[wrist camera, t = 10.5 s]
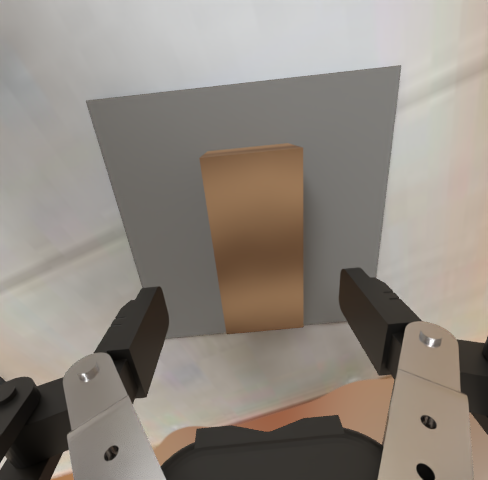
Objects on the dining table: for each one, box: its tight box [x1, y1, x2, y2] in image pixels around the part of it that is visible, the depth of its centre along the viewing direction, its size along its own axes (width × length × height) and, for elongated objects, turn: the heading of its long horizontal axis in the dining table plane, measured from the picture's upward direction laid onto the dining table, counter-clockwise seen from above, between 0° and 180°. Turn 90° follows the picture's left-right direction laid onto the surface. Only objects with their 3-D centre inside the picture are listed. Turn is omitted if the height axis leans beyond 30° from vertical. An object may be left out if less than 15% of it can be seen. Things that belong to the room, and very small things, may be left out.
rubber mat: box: [86, 65, 401, 339], centre depth 19 cm, size 18×18×1 cm
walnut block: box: [199, 143, 303, 334], centre depth 16 cm, size 11×5×4 cm, turn 5°
